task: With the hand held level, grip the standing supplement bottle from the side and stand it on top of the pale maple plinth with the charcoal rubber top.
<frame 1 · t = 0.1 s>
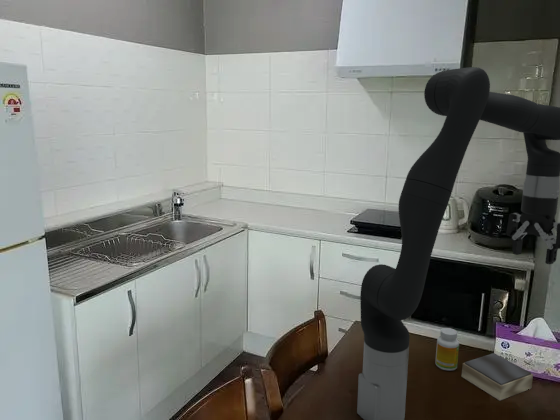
hand: (532, 258, 112), 29 cm above the table, tool pointing down, fingers open, 8 cm apart
supplement bottle: (446, 366, 118), on the table
plinth: (495, 382, 111), on the table
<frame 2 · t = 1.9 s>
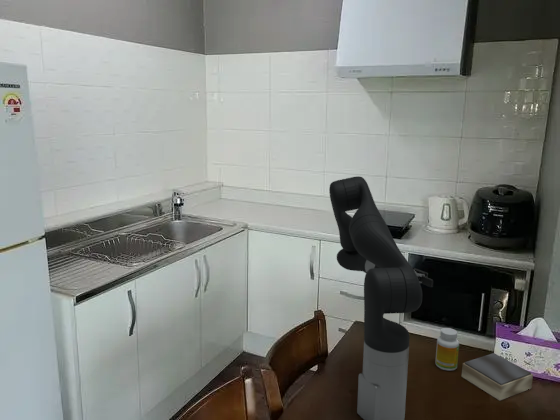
hand: (420, 286, 125), 18 cm above the table, tool horizontal, fingers open, 8 cm apart
nothing on the table moved.
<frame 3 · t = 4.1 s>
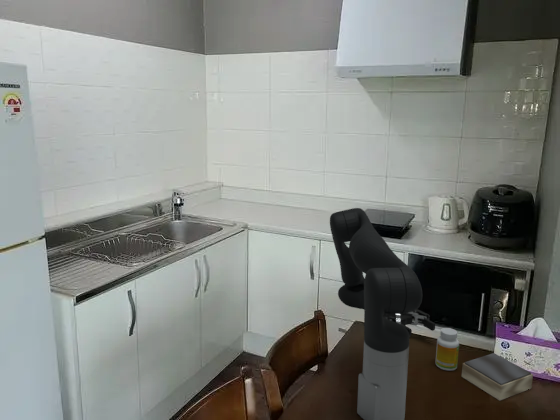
hand: (422, 330, 125), 6 cm above the table, tool horizontal, fingers open, 8 cm apart
nothing on the table moved.
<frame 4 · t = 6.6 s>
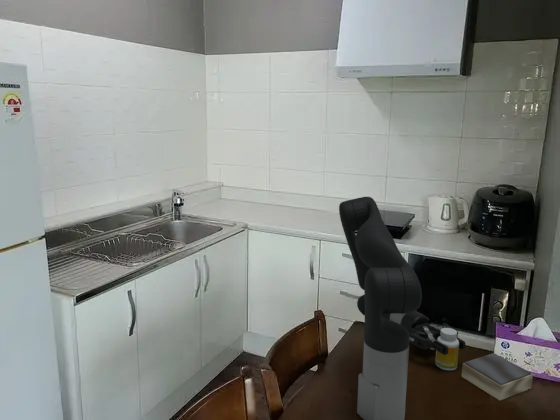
hand: (455, 348, 115), 6 cm above the table, tool horizontal, fingers closed on supplement bottle, 5 cm apart
supplement bottle: (446, 366, 118), on the table, touching gripper
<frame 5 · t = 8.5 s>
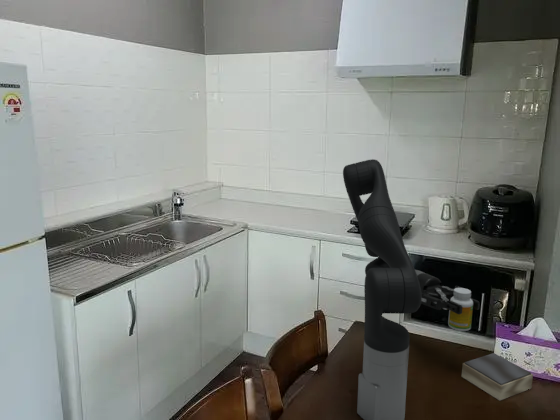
hand: (469, 308, 111), 18 cm above the table, tool horizontal, fingers closed on supplement bottle, 5 cm apart
supplement bottle: (459, 327, 115), point 11 cm above the table, touching gripper
when the fingers open (11 cm above the table, at t = 10.7 s): supplement bottle drops 1 cm, resting on plinth.
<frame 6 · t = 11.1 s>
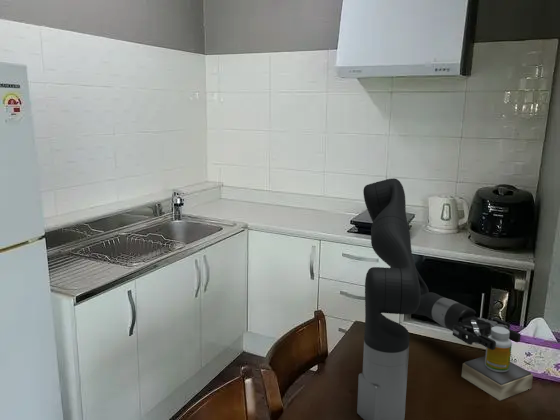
hand: (507, 342, 107), 12 cm above the table, tool horizontal, fingers open, 8 cm apart
supplement bottle: (496, 367, 110), point 4 cm above the table, touching plinth
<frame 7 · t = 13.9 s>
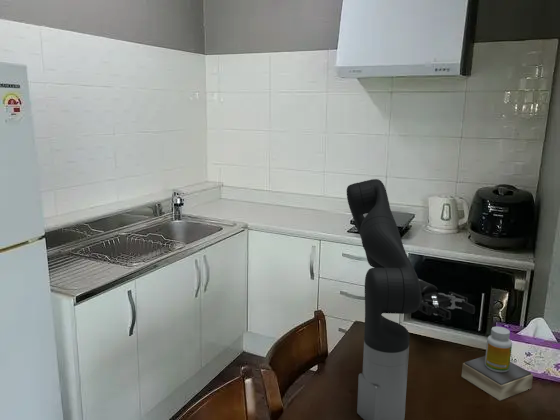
hand: (462, 313, 118), 14 cm above the table, tool horizontal, fingers open, 8 cm apart
nothing on the table moved.
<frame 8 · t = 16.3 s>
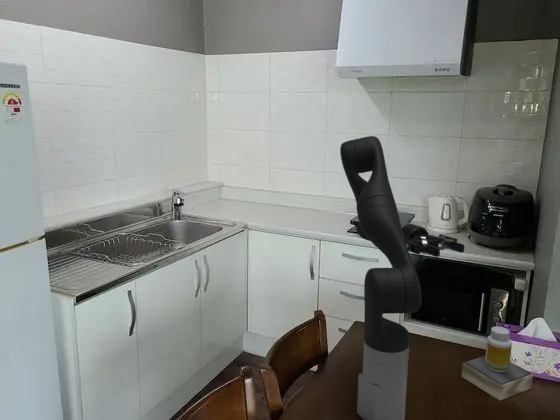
hand: (451, 250, 116), 30 cm above the table, tool horizontal, fingers open, 8 cm apart
nothing on the table moved.
at the end: supplement bottle inside the target area on the plinth (0.1 cm from its centre), point 3.8 cm above the plinth's base; supplement bottle tilted 0°; the gripper is holding nothing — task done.
